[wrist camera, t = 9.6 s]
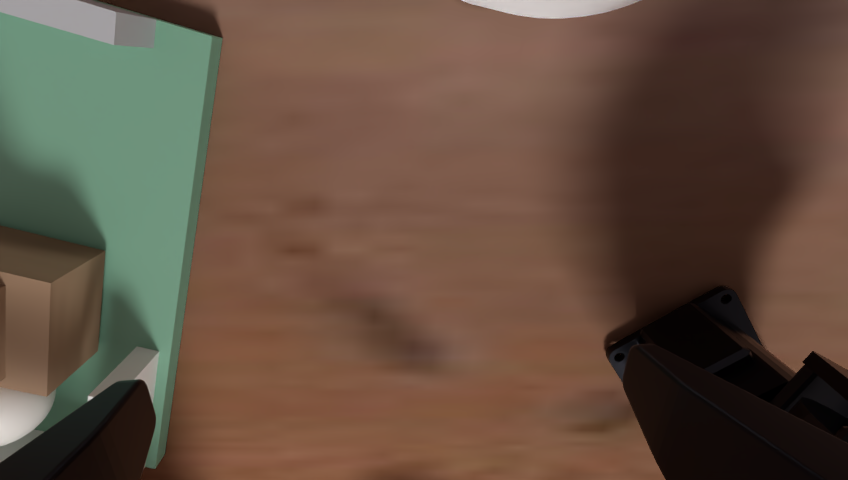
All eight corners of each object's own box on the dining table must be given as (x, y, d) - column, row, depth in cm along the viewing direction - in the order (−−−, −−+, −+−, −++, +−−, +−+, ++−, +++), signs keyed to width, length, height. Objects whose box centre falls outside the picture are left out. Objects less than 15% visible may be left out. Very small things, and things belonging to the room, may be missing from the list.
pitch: (-117, -64, 17) (-290, -108, 13) (222, 38, 18) (166, 29, 14) (-83, 405, 24) (-190, 477, 20) (164, 454, 25) (115, 531, 21)
